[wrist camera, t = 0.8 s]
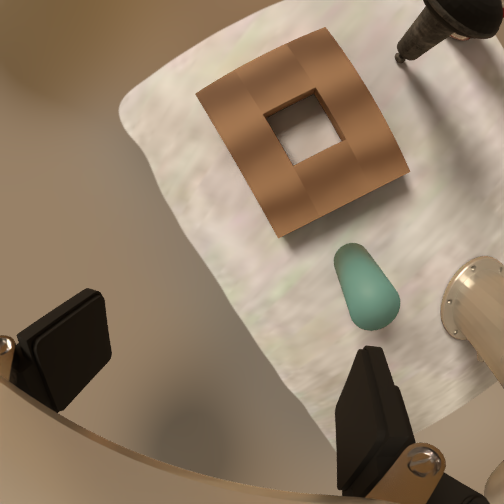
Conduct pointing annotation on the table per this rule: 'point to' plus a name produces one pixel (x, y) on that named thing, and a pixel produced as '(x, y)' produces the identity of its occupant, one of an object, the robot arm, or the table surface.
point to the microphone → (449, 24)
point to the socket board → (271, 151)
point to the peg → (365, 288)
